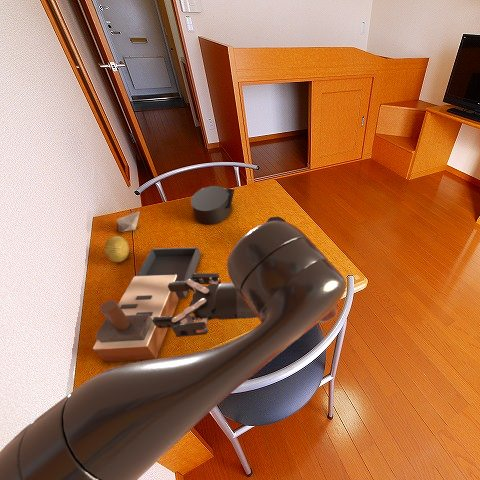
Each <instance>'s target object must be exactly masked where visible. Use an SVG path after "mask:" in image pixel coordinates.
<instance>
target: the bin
mask: <svg viewBox="0 0 480 480" xmlns="http://www.w3.org/2000/svg"><path fill="white" fill-rule="evenodd" d="M199 248H200V247H199V246H197V247H193V246H192V247H160V248H158V247H157V248H151V249H150V251H149V252H148V254H147V256H146V257H145V260H144V261H143V263H142V265H141V266H140V268H139V269H138V272H137V274H136V275H135V276H159V275H177V277H176V280H175V281H187V280H189V279H191V278H192V274H194V273H196V270H197V267H198V265H199V261H200V259H201V256H202V254H201V250H200V249H199ZM188 292H189V290H188V291H181V292H175V293H176V295H177V297H178V299H184V298H187V295H188Z"/></svg>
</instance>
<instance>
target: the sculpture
mask: <svg viewBox="0 0 480 480" xmlns="http://www.w3.org/2000/svg"><path fill="white" fill-rule="evenodd" d="M104 253H105V256H106V257H107V259H108V260H109V261H112V262H114V263H121V262H123V261H125V260H126V259H127V258H128V256H129V253H130V246H129V242H128V241H127V240H126V239H125V238H124V237H122V236H119V235H118V236H117V235H116V236H115V235H114V236H112V237H110V238H109V239H108V240H107V241H106V242H105V245H104Z"/></svg>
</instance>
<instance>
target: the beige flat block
mask: <svg viewBox="0 0 480 480" xmlns="http://www.w3.org/2000/svg"><path fill="white" fill-rule="evenodd" d="M176 277H177V275H159V276H136V275H134V276H133V277H132V279H131V281H130V283H129V284H128V286H127V288H126V290H125V292H124V293H123V294H122V297H121V298H120V300H119V302H118V303H117V304H118V306H119V307H121V305H125V304H138V305H137V307H136V308H125V309H121V310H122V311H123V312H124V314H125V315H136V314H137V312H153V314H152V316H150V317H151V318H152V320H153V318H154V317H164V316H173V317H174V314H175V311H176V308H177V306H178V303H179V300H180V298H178V297H177V295H176V293H175V292H171V291H170V290H169V288H168V284H169V283H172V282H175V280H176ZM147 295H152V298H151V299H143V300H136V297H137V296H147ZM168 329H169V328H157V326H155V325H154V323H153V322H152V323H151V325H150V328H149V330H148V332H147V335H146V337H145V339H144V340H137V341H119V342H100V341H99V340H98V339H96V342H95V344H94V345H93V347H92V350H93V351H94V352H95V353H96V354H97V355H98V356H99V357H100V358H101V359H102V360H104V362H126V361H144V360H153V359H158V355H159V353H160V350H161V348H162V345H163V343H164V340H165V337H166V334H167V332H168Z"/></svg>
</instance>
